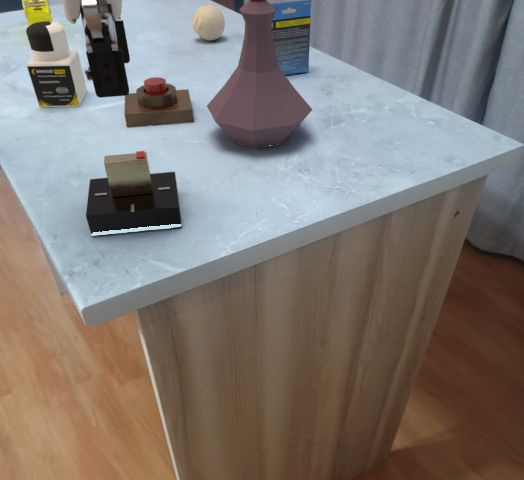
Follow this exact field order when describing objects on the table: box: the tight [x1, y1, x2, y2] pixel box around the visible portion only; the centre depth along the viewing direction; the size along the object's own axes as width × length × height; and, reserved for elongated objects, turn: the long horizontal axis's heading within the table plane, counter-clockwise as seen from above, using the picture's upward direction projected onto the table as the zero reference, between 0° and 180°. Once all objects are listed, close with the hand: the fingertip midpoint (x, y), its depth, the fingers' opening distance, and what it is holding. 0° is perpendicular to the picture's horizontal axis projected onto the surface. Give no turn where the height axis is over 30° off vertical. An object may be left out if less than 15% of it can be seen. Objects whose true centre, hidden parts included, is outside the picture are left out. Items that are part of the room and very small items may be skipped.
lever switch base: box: [85, 171, 182, 234], centre depth 65 cm, size 11×9×3 cm
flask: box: [206, 0, 313, 149], centre depth 75 cm, size 16×16×20 cm
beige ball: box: [191, 4, 226, 41], centre depth 115 cm, size 7×7×7 cm
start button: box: [143, 76, 167, 95], centre depth 85 cm, size 4×4×2 cm
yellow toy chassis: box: [21, 0, 53, 27], centre depth 119 cm, size 16×6×8 cm, turn 19°
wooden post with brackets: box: [84, 66, 92, 80], centre depth 102 cm, size 2×8×4 cm, turn 179°
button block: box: [124, 83, 195, 128], centre depth 87 cm, size 11×9×4 cm
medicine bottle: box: [25, 20, 88, 109], centre depth 89 cm, size 7×7×12 cm
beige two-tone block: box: [103, 150, 153, 197], centre depth 63 cm, size 5×2×5 cm, turn 100°
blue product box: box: [270, 0, 313, 76], centre depth 98 cm, size 9×4×12 cm, turn 110°
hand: (114, 78), depth 54 cm, fingers open, 9 cm apart
